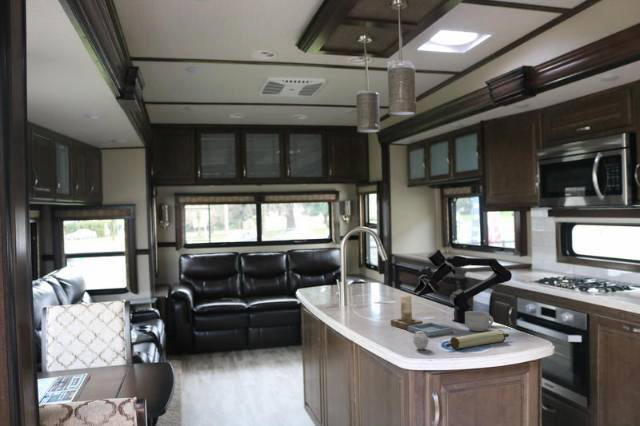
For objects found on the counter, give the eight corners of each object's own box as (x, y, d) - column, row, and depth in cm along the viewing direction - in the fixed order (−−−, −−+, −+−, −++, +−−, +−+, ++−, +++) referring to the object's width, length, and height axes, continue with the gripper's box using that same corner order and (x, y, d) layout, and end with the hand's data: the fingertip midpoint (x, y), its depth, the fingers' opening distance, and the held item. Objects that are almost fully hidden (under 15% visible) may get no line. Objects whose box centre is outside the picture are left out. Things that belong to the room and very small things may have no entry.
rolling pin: (503, 339, 208) (503, 327, 208) (513, 342, 203) (513, 330, 203) (441, 349, 195) (441, 336, 195) (451, 353, 190) (450, 340, 190)
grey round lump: (425, 346, 199) (424, 329, 199) (431, 351, 192) (431, 333, 192) (410, 347, 198) (410, 330, 198) (416, 352, 191) (416, 334, 191)
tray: (452, 332, 220) (452, 327, 220) (428, 337, 213) (428, 332, 213) (430, 326, 232) (430, 322, 232) (407, 330, 225) (407, 326, 225)
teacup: (460, 328, 227) (459, 311, 227) (479, 326, 231) (478, 309, 231) (480, 335, 214) (479, 317, 214) (500, 332, 218) (499, 314, 218)
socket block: (422, 326, 233) (422, 321, 233) (405, 329, 227) (405, 324, 227) (408, 322, 242) (407, 317, 242) (390, 325, 237) (390, 319, 237)
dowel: (414, 326, 234) (413, 296, 234) (405, 327, 231) (405, 297, 231) (407, 324, 238) (406, 295, 238) (399, 325, 236) (398, 296, 236)
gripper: (425, 259, 250) (401, 278, 250) (435, 262, 232) (410, 284, 231) (438, 275, 250) (415, 295, 250) (450, 281, 232) (424, 302, 231)
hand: (416, 293), depth 241 cm, fingers open, 9 cm apart
